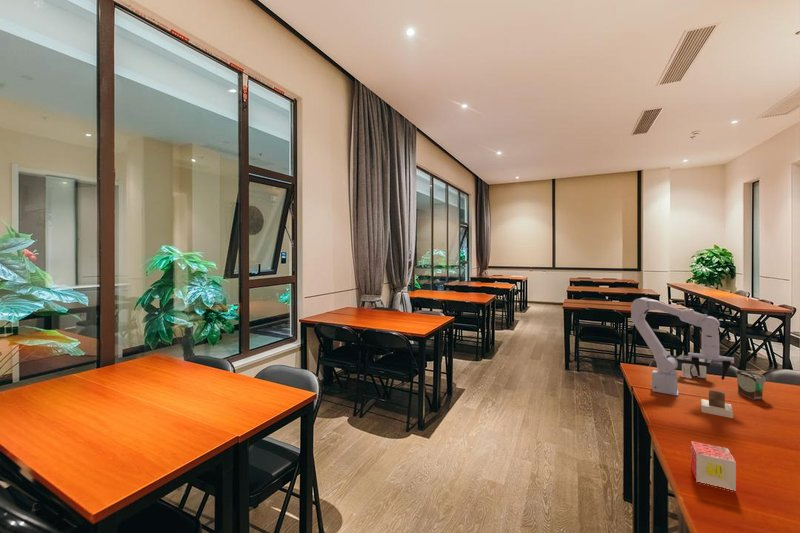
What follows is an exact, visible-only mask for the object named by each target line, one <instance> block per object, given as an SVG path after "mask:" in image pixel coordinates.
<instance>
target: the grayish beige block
mask: <svg viewBox="0 0 800 533" xmlns="http://www.w3.org/2000/svg"><path fill="white" fill-rule="evenodd" d="M725 395H726V393H725V392H724V391H718V390H712V389H708V400H709V405H710V406H715V407H720V408H725V403H726V396H725Z"/></svg>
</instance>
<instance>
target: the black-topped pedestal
mask: <svg viewBox="0 0 800 533" xmlns="http://www.w3.org/2000/svg"><path fill="white" fill-rule="evenodd" d="M688 353H689V352H686V354H685V352H684V351H682V354H680V355H679V356H677V358H676V360H677V362H678V363H680V364H681V378H682V377H686V378H685V379H691V378H692V379H693V377H695V376H697V377H696V378H702V379H707V367H711V366H712V365H713V360H706V359H699V370H700V376H698V373H697V370H696V367H695V365H694V363H693V361H692V358H688ZM692 375H693V376H692Z"/></svg>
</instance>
